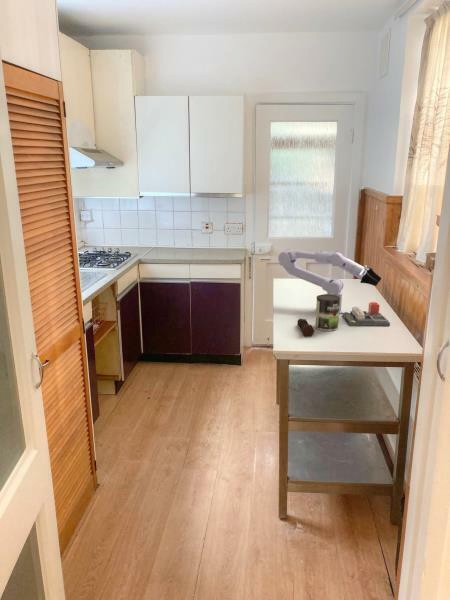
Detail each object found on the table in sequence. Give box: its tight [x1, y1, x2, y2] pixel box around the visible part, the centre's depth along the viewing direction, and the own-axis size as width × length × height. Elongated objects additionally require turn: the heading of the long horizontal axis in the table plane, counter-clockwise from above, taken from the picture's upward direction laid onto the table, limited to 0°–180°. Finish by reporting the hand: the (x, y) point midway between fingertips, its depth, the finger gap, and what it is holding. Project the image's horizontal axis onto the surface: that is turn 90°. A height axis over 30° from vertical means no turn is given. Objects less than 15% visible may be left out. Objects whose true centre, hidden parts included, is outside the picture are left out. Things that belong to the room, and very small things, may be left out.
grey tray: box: [342, 310, 391, 327], centre depth 225 cm, size 18×15×2 cm
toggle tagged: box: [355, 310, 365, 320], centre depth 222 cm, size 3×5×4 cm, turn 179°
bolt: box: [296, 318, 316, 338], centre depth 212 cm, size 6×5×15 cm
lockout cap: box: [367, 301, 380, 313], centre depth 236 cm, size 4×4×6 cm
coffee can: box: [314, 293, 340, 332], centre depth 215 cm, size 10×10×14 cm
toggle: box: [351, 305, 362, 315], centre depth 228 cm, size 3×5×4 cm, turn 179°
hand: (378, 282), depth 226 cm, fingers open, 7 cm apart
